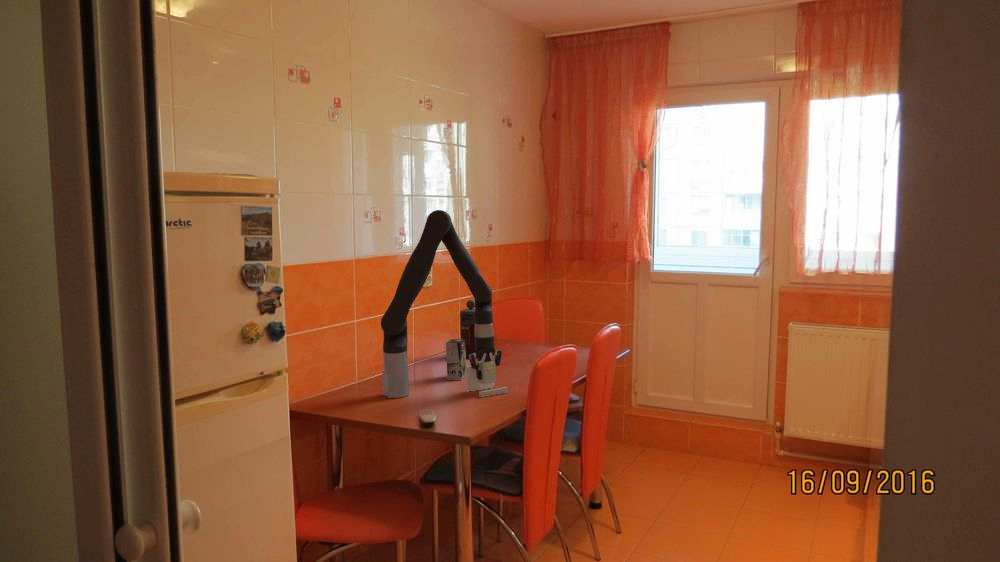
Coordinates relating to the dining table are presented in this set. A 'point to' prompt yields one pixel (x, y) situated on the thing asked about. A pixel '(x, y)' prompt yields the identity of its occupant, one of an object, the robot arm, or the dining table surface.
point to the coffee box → (456, 359)
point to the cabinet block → (488, 373)
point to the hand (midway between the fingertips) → (486, 378)
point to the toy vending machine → (468, 327)
